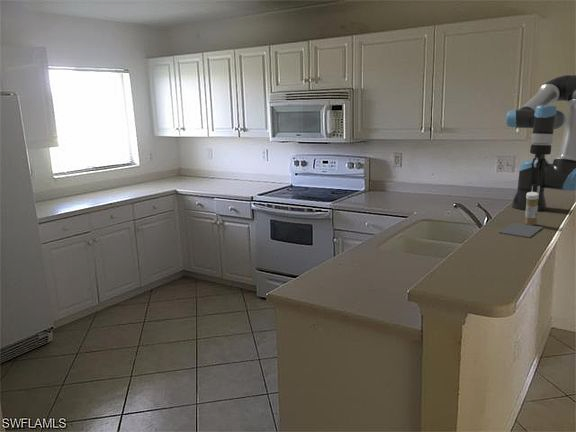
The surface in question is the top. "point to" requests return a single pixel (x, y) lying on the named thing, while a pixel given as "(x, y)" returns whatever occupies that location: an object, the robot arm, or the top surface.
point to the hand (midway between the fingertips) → (534, 201)
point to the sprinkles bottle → (531, 208)
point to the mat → (521, 230)
